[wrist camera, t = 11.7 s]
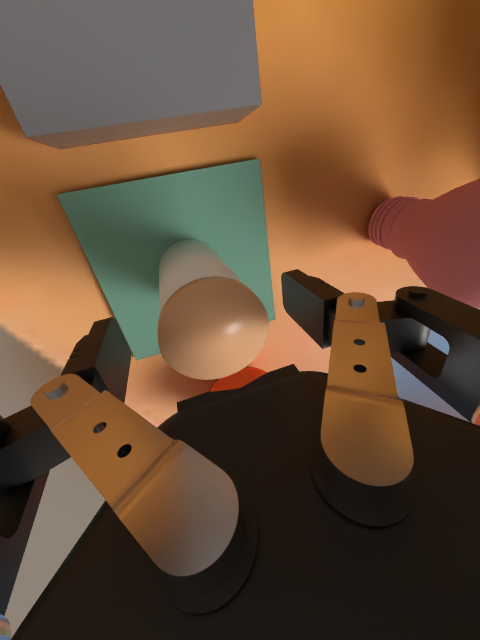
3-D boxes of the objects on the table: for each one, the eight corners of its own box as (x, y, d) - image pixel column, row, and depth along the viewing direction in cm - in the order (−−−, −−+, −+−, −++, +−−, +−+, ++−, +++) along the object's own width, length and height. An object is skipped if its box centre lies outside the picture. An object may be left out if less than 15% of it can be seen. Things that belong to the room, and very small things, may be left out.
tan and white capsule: (147, 246, 16) (139, 300, 9) (215, 231, 17) (262, 269, 9) (168, 307, 19) (176, 392, 11) (227, 291, 19) (273, 361, 12)
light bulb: (331, 266, 22) (486, 339, 11) (354, 170, 18) (599, 153, 8) (396, 264, 23) (578, 326, 13) (427, 177, 20) (698, 171, 10)
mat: (58, 194, 14) (56, 194, 14) (257, 158, 16) (259, 158, 16) (136, 357, 20) (136, 360, 20) (273, 317, 22) (275, 319, 22)
